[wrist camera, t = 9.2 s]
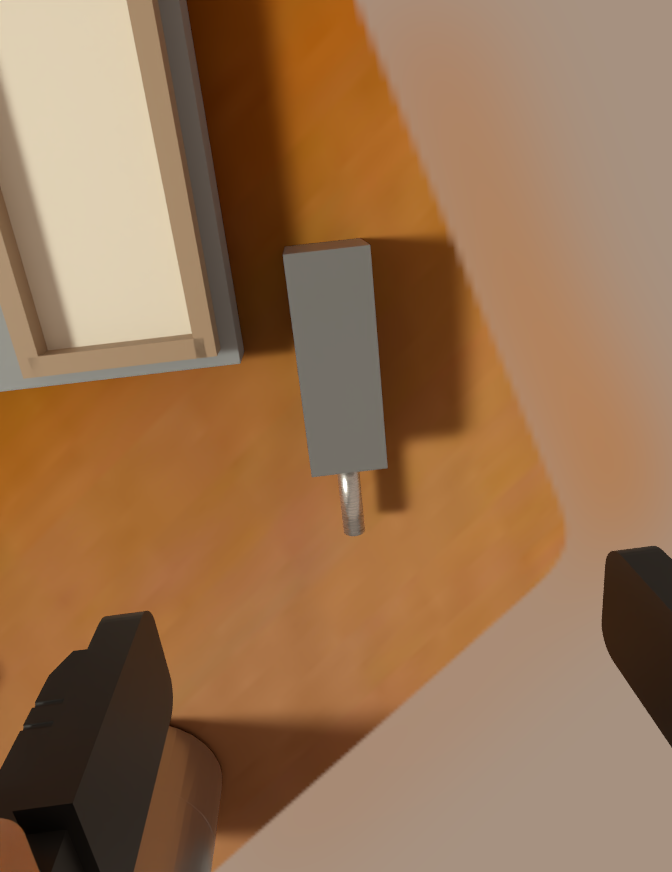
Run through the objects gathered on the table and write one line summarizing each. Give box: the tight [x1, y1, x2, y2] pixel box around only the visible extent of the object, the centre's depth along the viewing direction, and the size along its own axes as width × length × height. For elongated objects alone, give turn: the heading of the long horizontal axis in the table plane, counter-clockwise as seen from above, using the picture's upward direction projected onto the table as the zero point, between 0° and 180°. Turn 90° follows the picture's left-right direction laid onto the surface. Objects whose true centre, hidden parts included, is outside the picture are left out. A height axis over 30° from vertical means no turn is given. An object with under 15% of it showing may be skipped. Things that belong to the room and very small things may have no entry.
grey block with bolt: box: [283, 238, 388, 536], centre depth 26 cm, size 13×3×4 cm, turn 6°
